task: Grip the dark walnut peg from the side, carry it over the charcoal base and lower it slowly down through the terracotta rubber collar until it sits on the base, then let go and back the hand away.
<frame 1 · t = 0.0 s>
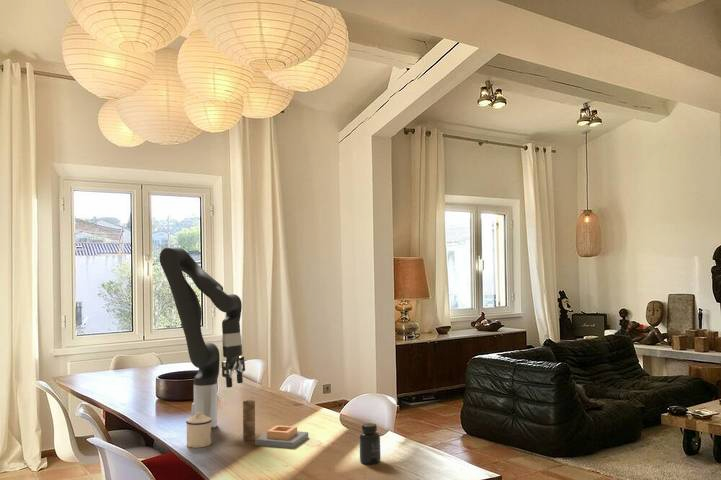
hand: (234, 385, 246), 17 cm above the table, tool pointing down, fingers open, 8 cm apart
walnut peg: (249, 439, 230), on the table
collar base: (282, 441, 227), on the table
supplement bottle: (370, 462, 202), on the table
teacup with lid: (196, 444, 225), on the table
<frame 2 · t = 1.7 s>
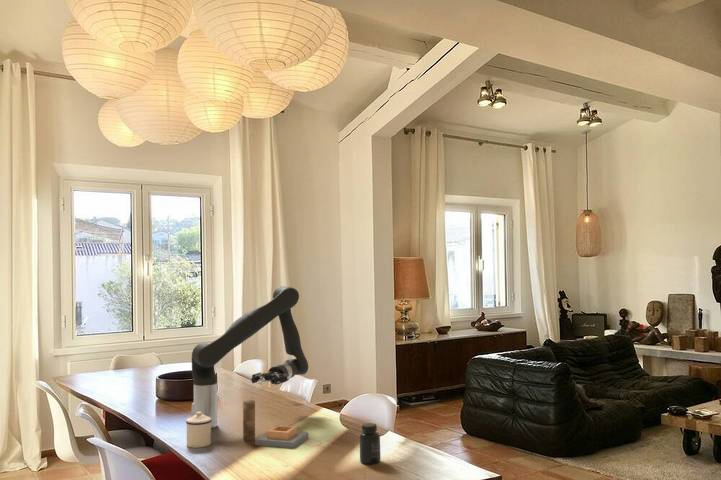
hand: (262, 380, 241), 20 cm above the table, tool horizontal, fingers open, 8 cm apart
nothing on the table moved.
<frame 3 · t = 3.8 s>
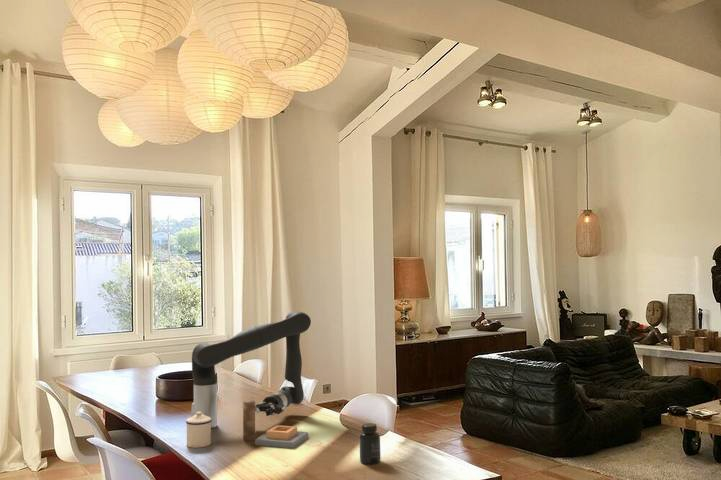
hand: (256, 412, 236), 8 cm above the table, tool horizontal, fingers open, 8 cm apart
nothing on the table moved.
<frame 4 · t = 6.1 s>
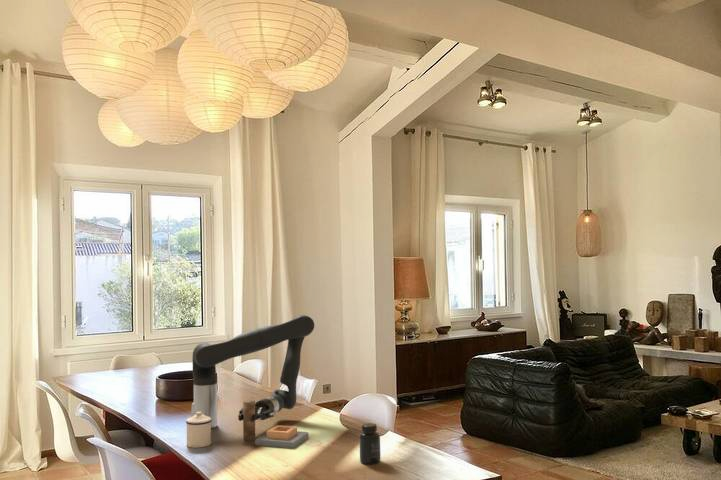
hand: (245, 418, 228), 8 cm above the table, tool horizontal, fingers closed on walnut peg, 4 cm apart
walnut peg: (249, 439, 230), on the table, touching gripper
everything else where it was.
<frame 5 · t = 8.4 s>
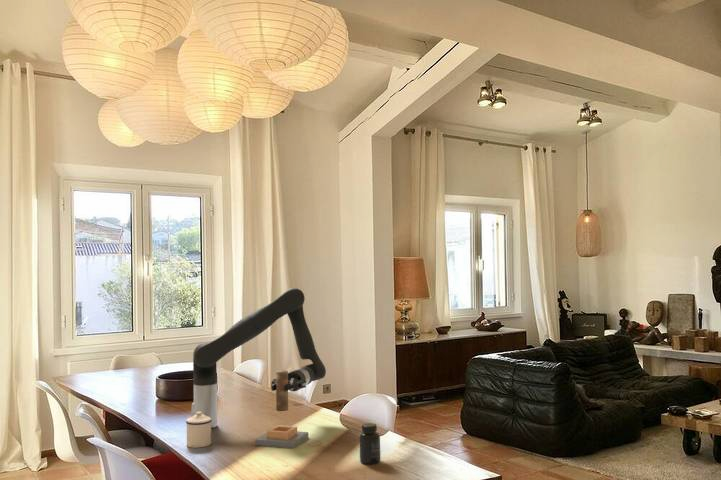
hand: (278, 388, 225), 20 cm above the table, tool horizontal, fingers closed on walnut peg, 4 cm apart
walnut peg: (282, 409, 228), point 11 cm above the table, touching gripper
everything else where it was.
when the fingers open (10 cm above the table, at t = 11.0 s): walnut peg stays where it is, resting on collar base.
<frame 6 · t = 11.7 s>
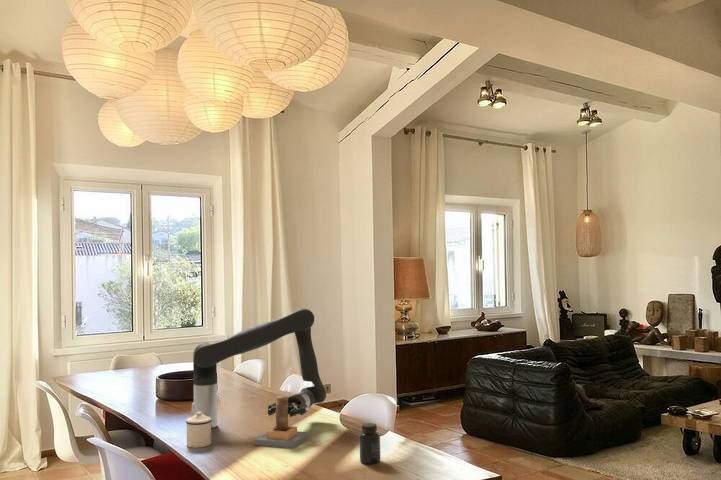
hand: (279, 413, 226), 11 cm above the table, tool horizontal, fingers open, 8 cm apart
walnut peg: (282, 435, 227), point 2 cm above the table, touching collar base
everything else where it was.
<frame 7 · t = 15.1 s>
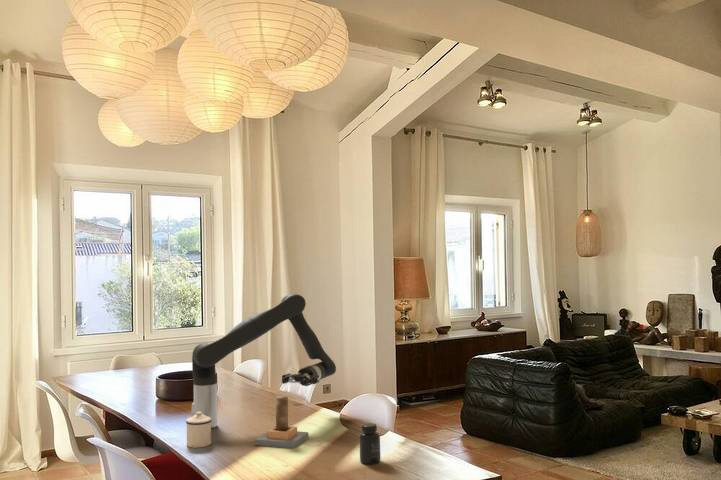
hand: (293, 381, 238), 20 cm above the table, tool horizontal, fingers open, 8 cm apart
nothing on the table moved.
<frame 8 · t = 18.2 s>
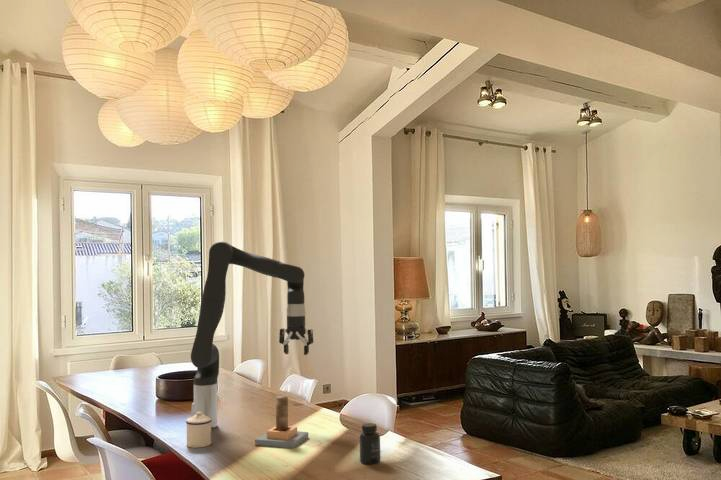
hand: (296, 354, 253), 28 cm above the table, tool pointing down, fingers open, 8 cm apart
nothing on the table moved.
at the end: walnut peg 0.1 cm off-centre on the collar base, point 2.0 cm above the collar base's base; walnut peg tilted 0°; the gripper is holding nothing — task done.
